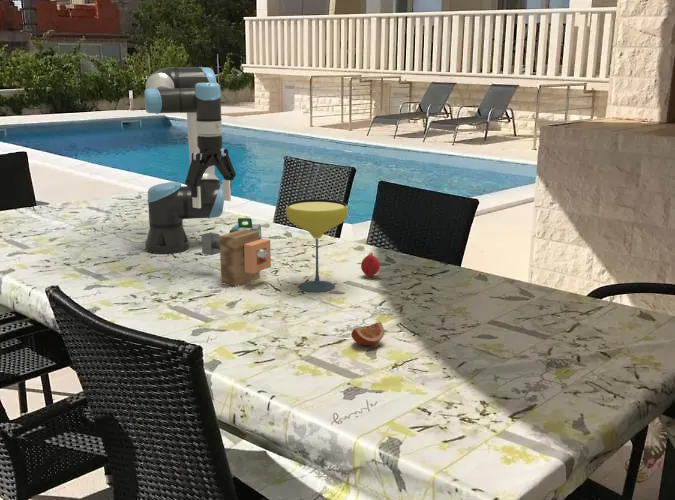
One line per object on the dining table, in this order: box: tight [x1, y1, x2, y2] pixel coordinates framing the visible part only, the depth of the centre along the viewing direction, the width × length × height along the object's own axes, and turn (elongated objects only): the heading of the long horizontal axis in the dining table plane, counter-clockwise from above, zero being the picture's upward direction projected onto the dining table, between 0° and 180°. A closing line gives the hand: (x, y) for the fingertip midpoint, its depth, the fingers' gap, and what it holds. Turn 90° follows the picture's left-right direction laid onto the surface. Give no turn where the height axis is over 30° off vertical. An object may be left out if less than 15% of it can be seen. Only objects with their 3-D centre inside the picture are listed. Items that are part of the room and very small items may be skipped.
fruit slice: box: [350, 321, 385, 346], centre depth 182 cm, size 8×7×5 cm
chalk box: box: [229, 217, 263, 240], centre depth 255 cm, size 9×9×15 cm
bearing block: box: [219, 229, 261, 287], centre depth 232 cm, size 6×11×15 cm, turn 146°
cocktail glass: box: [285, 198, 349, 293], centre depth 224 cm, size 18×18×25 cm
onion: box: [360, 251, 381, 278], centre depth 236 cm, size 6×6×8 cm
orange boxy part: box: [244, 238, 272, 274], centre depth 227 cm, size 3×8×8 cm, turn 146°
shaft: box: [201, 232, 268, 258], centre depth 232 cm, size 24×4×6 cm, turn 56°
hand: (212, 204), depth 235 cm, fingers open, 13 cm apart
